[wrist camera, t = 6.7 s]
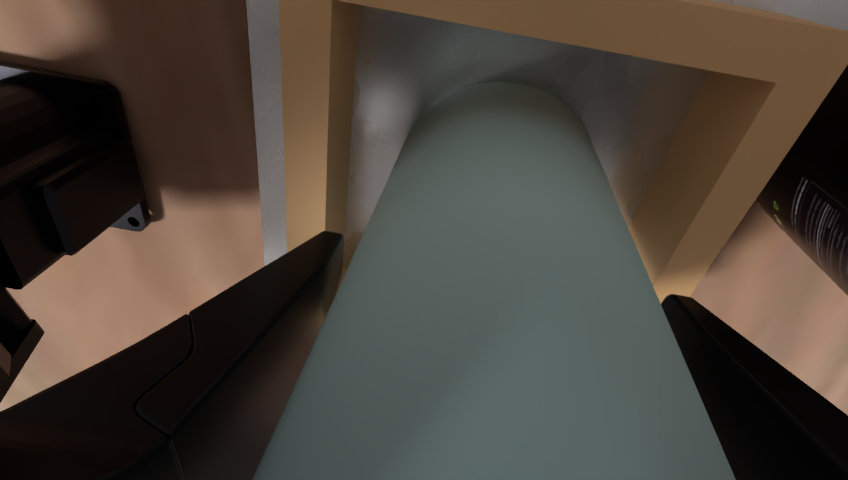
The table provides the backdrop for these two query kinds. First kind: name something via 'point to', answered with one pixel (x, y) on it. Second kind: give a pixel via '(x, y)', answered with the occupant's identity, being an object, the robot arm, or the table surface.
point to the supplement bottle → (816, 187)
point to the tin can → (495, 321)
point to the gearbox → (556, 75)
